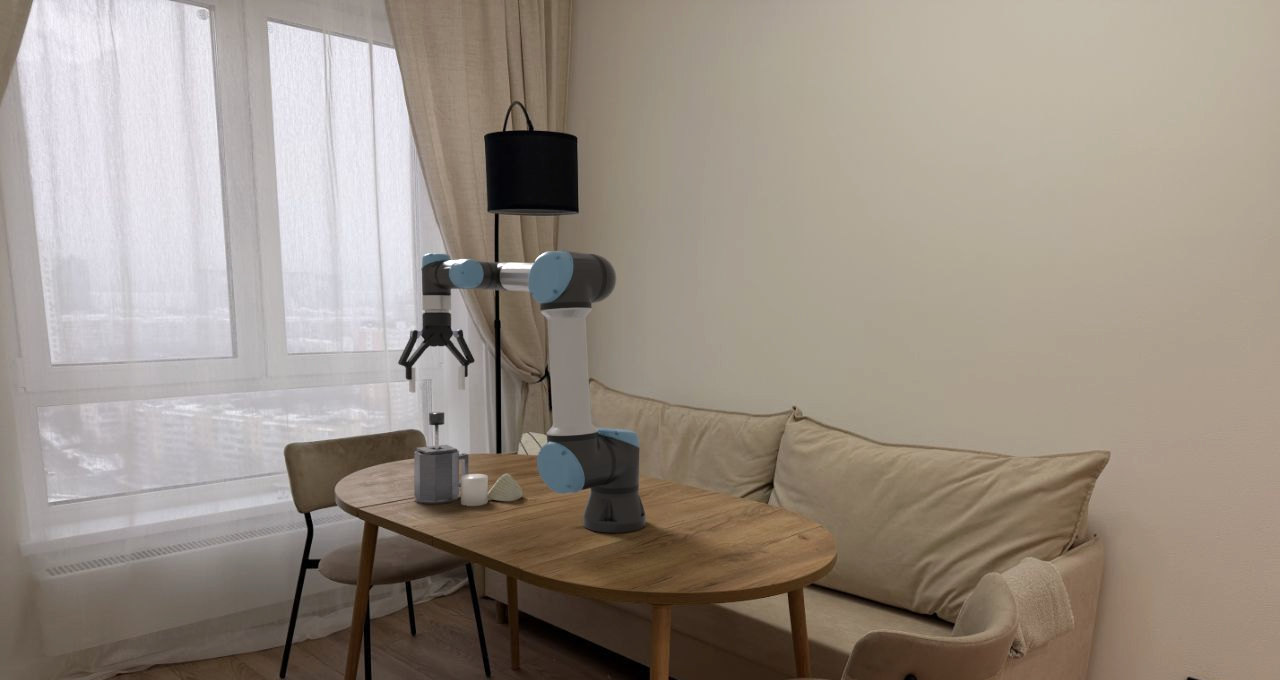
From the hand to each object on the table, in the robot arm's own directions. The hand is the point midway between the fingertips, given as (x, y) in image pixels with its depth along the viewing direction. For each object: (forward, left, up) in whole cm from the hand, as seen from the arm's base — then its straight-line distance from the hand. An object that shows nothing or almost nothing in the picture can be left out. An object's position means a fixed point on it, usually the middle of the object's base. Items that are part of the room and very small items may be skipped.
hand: (437, 390), depth 206 cm
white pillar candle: (-9, -7, -30) cm, 31 cm away
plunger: (0, 0, -25) cm, 25 cm away
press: (0, -1, -29) cm, 29 cm away
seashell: (-8, -16, -30) cm, 35 cm away
